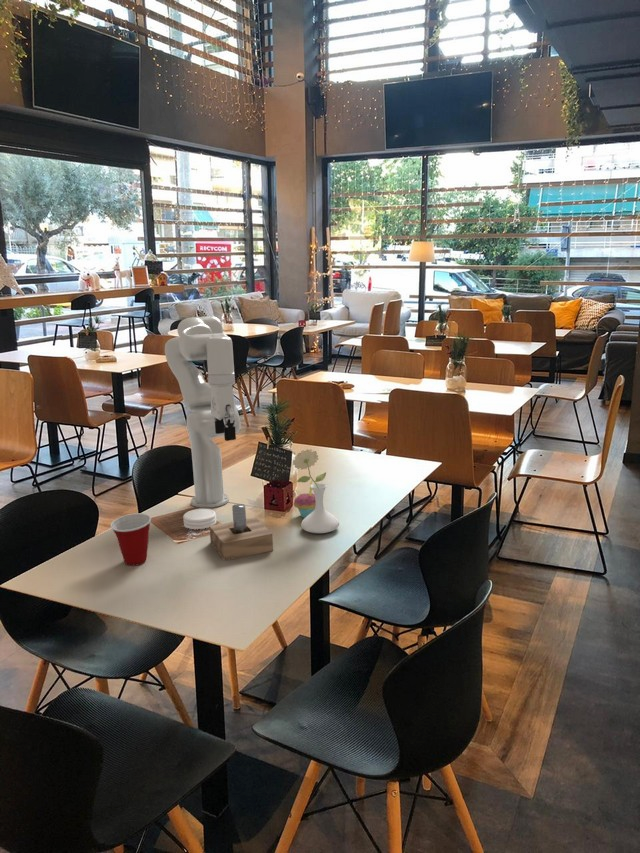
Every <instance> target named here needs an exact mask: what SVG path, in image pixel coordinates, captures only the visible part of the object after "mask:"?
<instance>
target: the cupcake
mask: <svg viewBox="0 0 640 853" xmlns="http://www.w3.org/2000/svg"><path fill="white" fill-rule="evenodd" d="M309 484H310V485H311V484H313V480H311V482H310V483H309ZM310 485H309V493H300V494H299V495H298V496H296V498H294V502H293V506H294V507H295V508H297V509H298V512H299V513H300V516H301V517H302V518H303V519H305V518H306V517H307V516H308V515H309V514H311V513H312V512H313V511H314V510H315V506H316V501H315V494H314V492H313V489H312V488H311V487H310ZM312 492H313V493H312Z"/></svg>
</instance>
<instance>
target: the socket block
mask: <svg viewBox="0 0 640 853" xmlns="http://www.w3.org/2000/svg"><path fill="white" fill-rule="evenodd" d="M246 527H247V532H245V533H240V534H235V535H234V526H233V521H231V522H224V523H219V524H215V525H213V526H210V528H209V537H210V538H209V539H210V544H211V545H212V546H213V547H214V549H215V550H216V552H218V554H219V556H221V558H222V559H223V560H224V561H228V560H233V559H238V558H242V557H243V558H244V557H248V556H252V555H257V554H262V553H266V552H267V553H268V552H272V551H274V540H273V532H271V531H270V530H269V529H268V528H267V526H265V525H264V524H263V523H262V522H261V521H260V520H259V519H258V518H257V517H251V518H246Z"/></svg>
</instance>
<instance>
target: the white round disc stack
mask: <svg viewBox="0 0 640 853" xmlns="http://www.w3.org/2000/svg"><path fill="white" fill-rule="evenodd" d="M182 519H183V526H184V528H186V529H188V528H189V529H188V530H192V529H194V530H196V529H197V530H198V529H200V530H206V529H210V528H209V527H210V526H213V525H217V513H216V511H214V510H213V509H212V508H196V509H191V510H189V511H186V512H185V513H184V514H183V516H182ZM205 528H206V529H205ZM197 530H196V531H197ZM198 531H199V530H198Z"/></svg>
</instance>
